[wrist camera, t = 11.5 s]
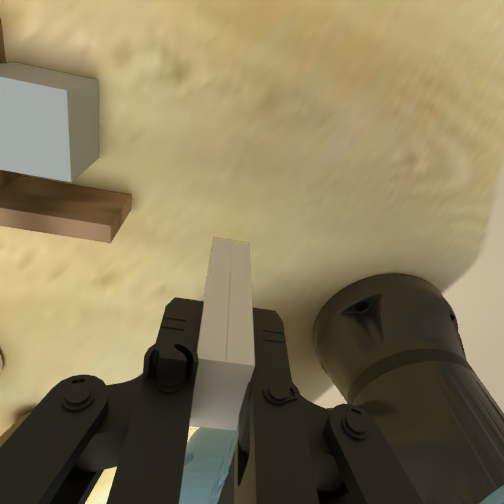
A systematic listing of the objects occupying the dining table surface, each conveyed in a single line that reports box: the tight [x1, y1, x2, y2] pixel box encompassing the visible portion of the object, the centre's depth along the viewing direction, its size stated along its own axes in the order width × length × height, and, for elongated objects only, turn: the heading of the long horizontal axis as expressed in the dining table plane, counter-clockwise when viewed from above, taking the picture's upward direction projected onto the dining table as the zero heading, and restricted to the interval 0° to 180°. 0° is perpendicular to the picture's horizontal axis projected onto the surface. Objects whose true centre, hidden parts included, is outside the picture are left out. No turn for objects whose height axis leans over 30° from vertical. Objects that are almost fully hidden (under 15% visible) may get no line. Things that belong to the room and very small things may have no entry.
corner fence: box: [0, 21, 131, 243], centre depth 26 cm, size 11×13×6 cm
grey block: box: [0, 62, 99, 182], centre depth 26 cm, size 6×6×6 cm
